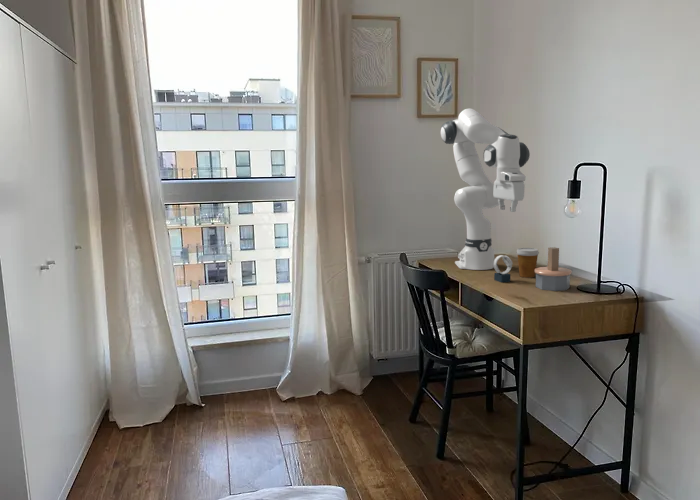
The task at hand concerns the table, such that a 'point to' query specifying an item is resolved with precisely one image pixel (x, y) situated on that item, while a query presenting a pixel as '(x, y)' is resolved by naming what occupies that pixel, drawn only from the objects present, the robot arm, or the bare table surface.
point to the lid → (553, 265)
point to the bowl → (552, 282)
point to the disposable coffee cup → (527, 261)
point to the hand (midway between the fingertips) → (507, 210)
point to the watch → (504, 275)
